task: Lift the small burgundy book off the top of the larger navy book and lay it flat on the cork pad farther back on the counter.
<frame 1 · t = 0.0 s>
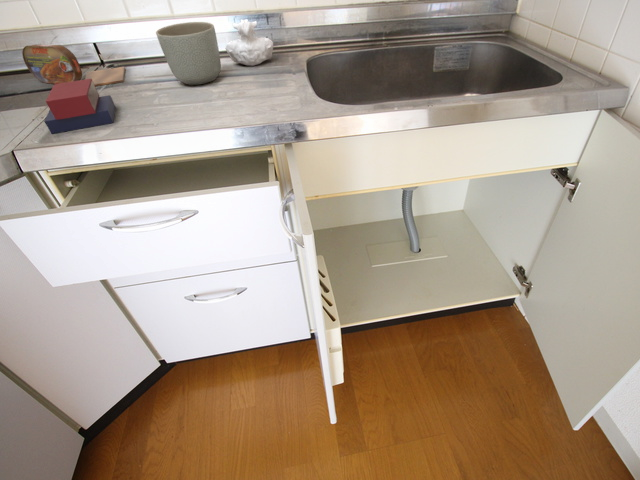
top book: (79, 107, 77), point 2 cm above the counter, touching bottom book
tin: (62, 83, 97), on the counter
planter: (200, 81, 94), on the counter
pad: (105, 77, 98), on the counter
bust: (253, 64, 101), on the counter
bottom book: (85, 119, 79), on the counter, touching top book
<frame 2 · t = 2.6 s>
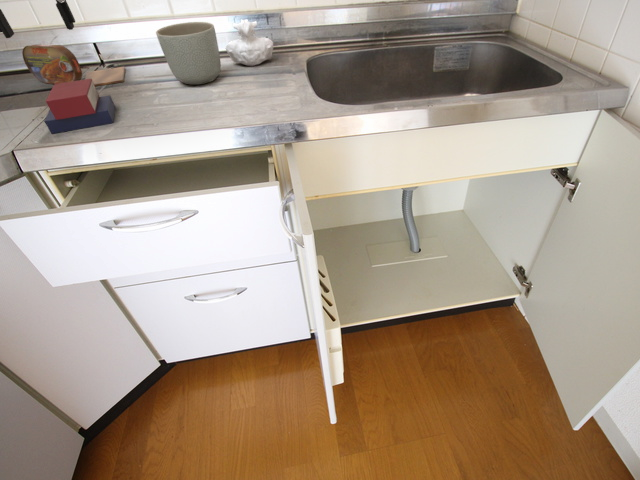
hand: (41, 32, 69), 15 cm above the counter, tool pointing down, fingers open, 9 cm apart
nothing on the counter moved.
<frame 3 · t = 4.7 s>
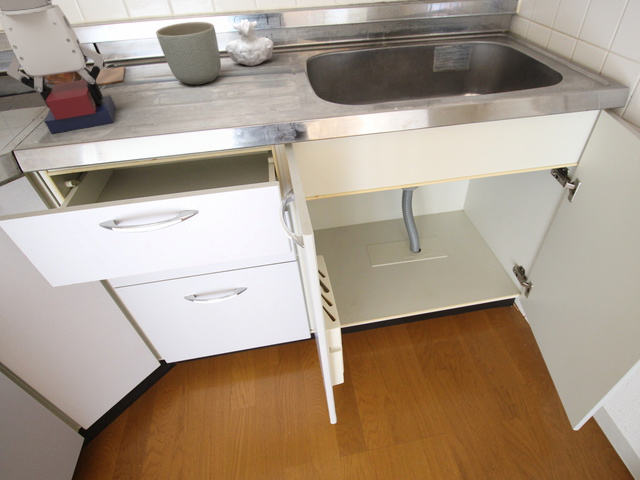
hand: (78, 106, 77), 3 cm above the counter, tool pointing down, fingers closed on top book, 6 cm apart
top book: (79, 107, 77), point 3 cm above the counter, touching bottom book, gripper
everything else where it was.
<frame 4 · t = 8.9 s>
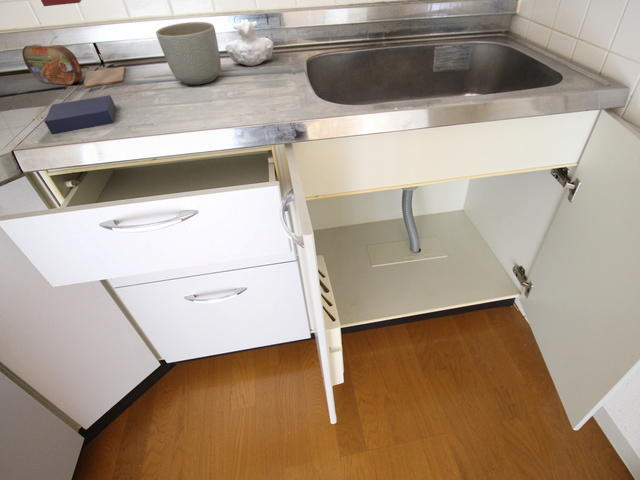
top book: (65, 0, 84), point 17 cm above the counter, touching gripper
bottom book: (85, 119, 79), on the counter
everything else where it was.
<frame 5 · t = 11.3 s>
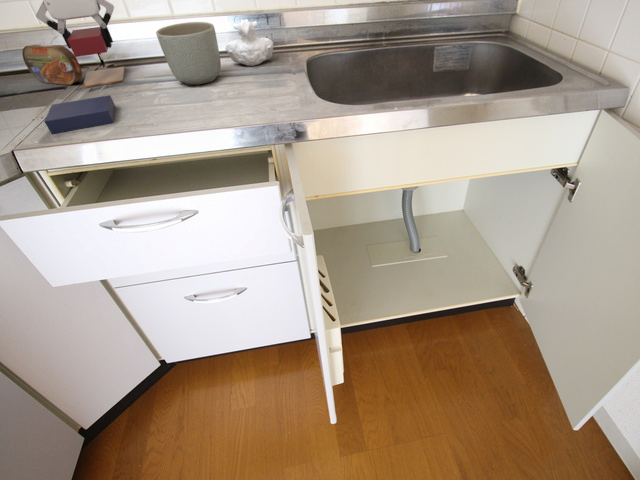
hand: (92, 48, 93), 7 cm above the counter, tool pointing down, fingers closed on top book, 6 cm apart
top book: (93, 49, 94), point 7 cm above the counter, touching gripper
tin: (62, 83, 97), on the counter, touching gripper
everything else where it was.
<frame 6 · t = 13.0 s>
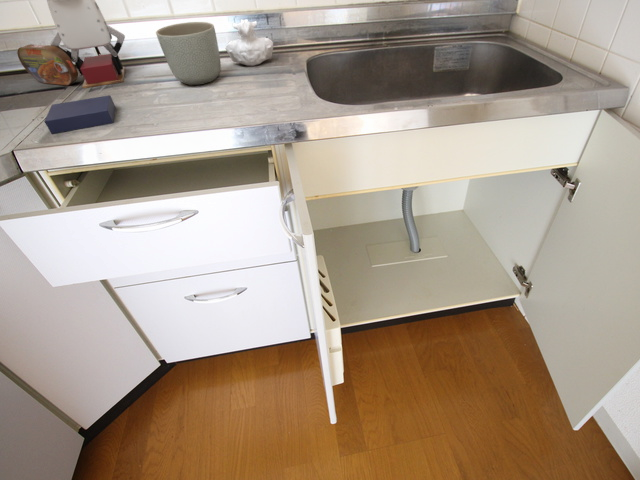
hand: (103, 74, 98), 1 cm above the counter, tool pointing down, fingers closed on top book, 6 cm apart
top book: (104, 75, 98), resting on pad, touching gripper
when the fingers open (1 cm above the counter, at t = 13.3 s): top book stays where it is, resting on pad.
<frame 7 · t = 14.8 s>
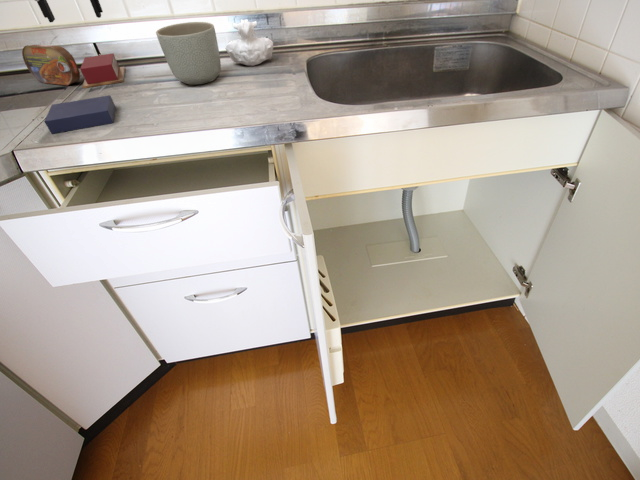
hand: (76, 18, 89), 13 cm above the counter, tool pointing down, fingers open, 9 cm apart
top book: (104, 75, 98), resting on pad
tin: (61, 83, 97), on the counter
everything else where it was.
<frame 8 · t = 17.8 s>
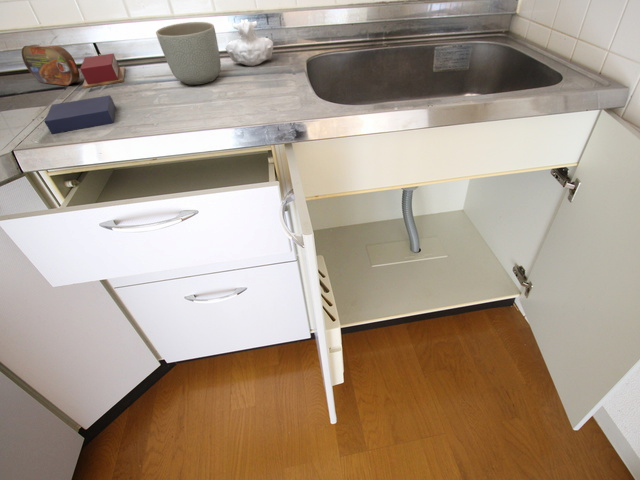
nothing on the counter moved.
at the end: top book inside the target area on the pad (0.0 cm from its centre), point 0.5 cm above the pad's base; top book touching pad; bottom book moved 0.0 cm from its start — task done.
